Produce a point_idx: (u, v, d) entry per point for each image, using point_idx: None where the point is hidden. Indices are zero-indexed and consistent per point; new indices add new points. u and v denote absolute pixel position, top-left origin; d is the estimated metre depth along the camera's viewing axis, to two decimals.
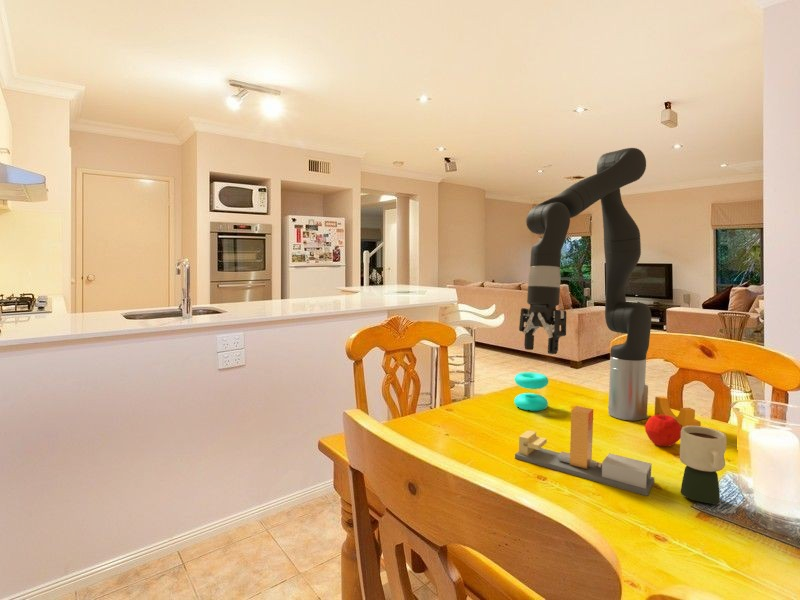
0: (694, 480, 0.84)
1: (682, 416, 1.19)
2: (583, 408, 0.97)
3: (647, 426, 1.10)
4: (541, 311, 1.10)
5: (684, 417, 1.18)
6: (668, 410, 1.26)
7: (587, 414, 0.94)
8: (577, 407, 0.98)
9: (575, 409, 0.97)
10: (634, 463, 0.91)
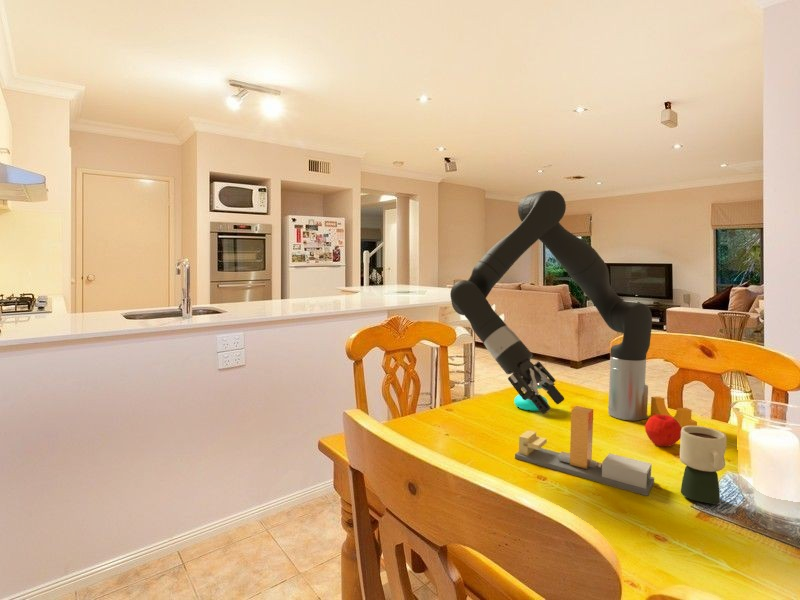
0: (694, 480, 0.84)
1: (679, 416, 1.18)
2: (583, 408, 0.97)
3: (647, 426, 1.10)
4: None
5: (681, 417, 1.18)
6: (664, 410, 1.26)
7: (587, 414, 0.94)
8: (577, 407, 0.98)
9: (575, 409, 0.97)
10: (634, 463, 0.91)
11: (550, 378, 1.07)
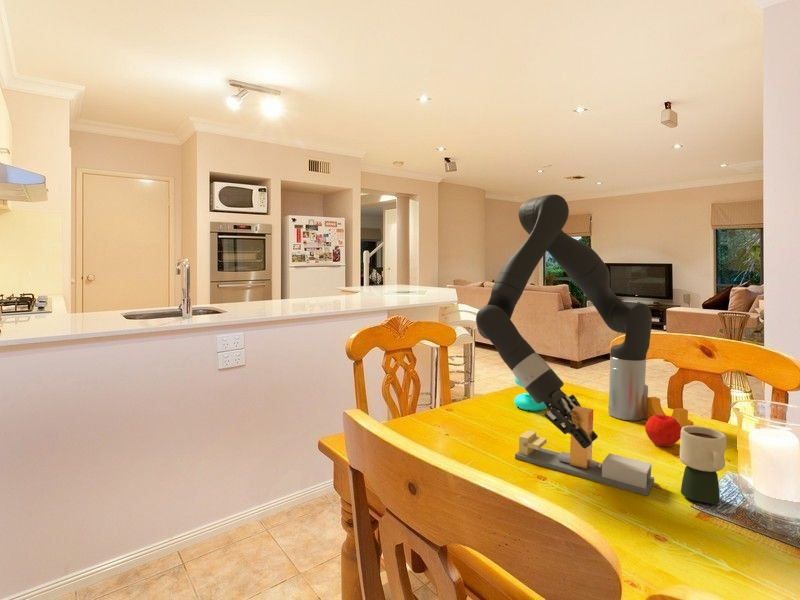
0: (694, 480, 0.84)
1: (675, 416, 1.18)
2: (583, 408, 0.97)
3: (647, 426, 1.10)
4: None
5: (677, 418, 1.18)
6: (660, 410, 1.26)
7: (587, 414, 0.94)
8: (577, 407, 0.98)
9: (575, 409, 0.97)
10: (634, 463, 0.91)
11: None
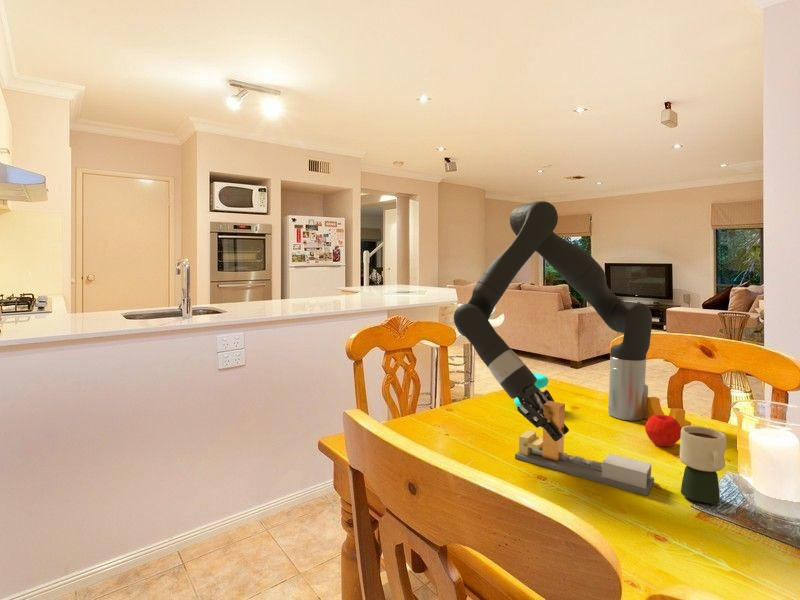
0: (694, 480, 0.84)
1: (672, 416, 1.18)
2: (555, 403, 1.01)
3: (647, 426, 1.11)
4: None
5: (674, 417, 1.18)
6: (659, 410, 1.26)
7: (558, 408, 0.98)
8: (549, 402, 1.02)
9: (547, 404, 1.00)
10: (634, 463, 0.91)
11: None
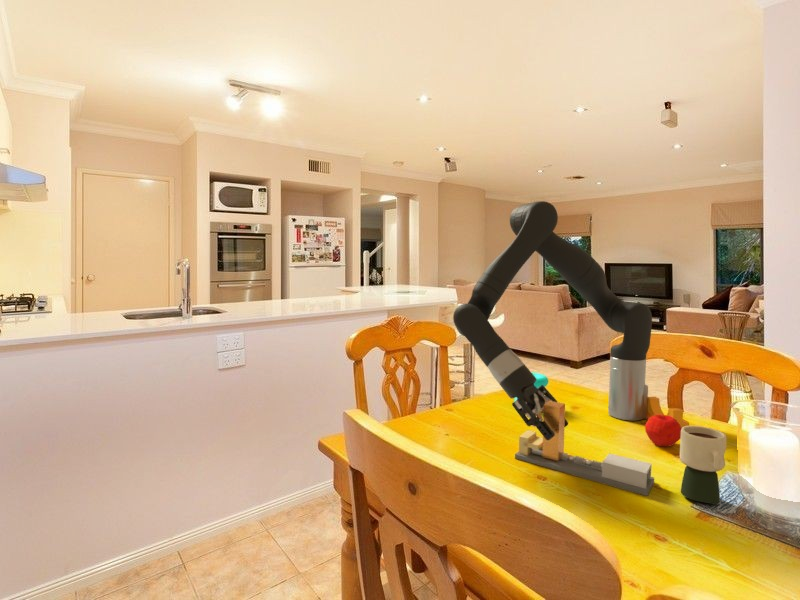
0: (694, 480, 0.84)
1: (670, 416, 1.18)
2: (555, 403, 1.01)
3: (647, 426, 1.10)
4: None
5: None
6: (658, 410, 1.26)
7: (558, 408, 0.98)
8: (550, 402, 1.02)
9: (547, 404, 1.00)
10: (634, 463, 0.91)
11: None
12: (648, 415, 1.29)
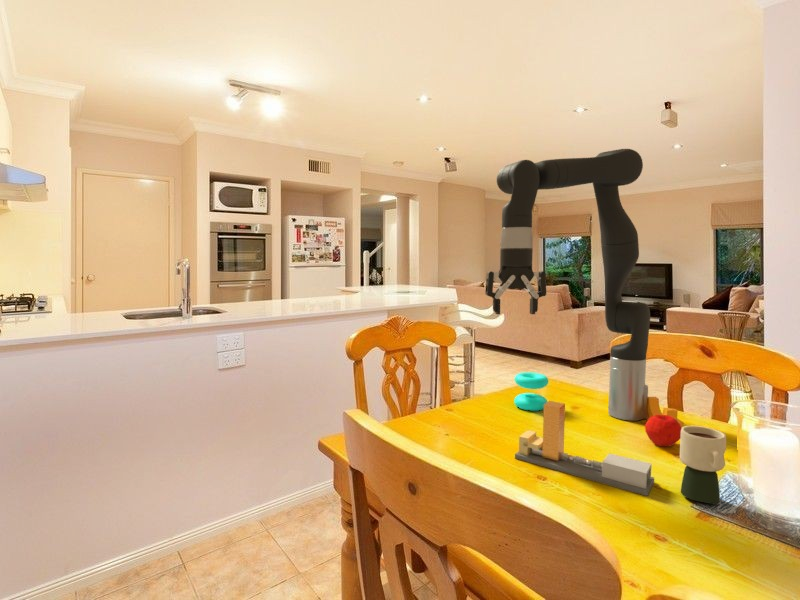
0: (694, 480, 0.84)
1: None
2: (555, 403, 1.01)
3: (647, 426, 1.10)
4: None
5: None
6: (657, 410, 1.26)
7: (558, 408, 0.98)
8: (550, 402, 1.02)
9: (547, 404, 1.00)
10: (634, 463, 0.91)
11: (541, 291, 1.09)
12: (647, 415, 1.29)
